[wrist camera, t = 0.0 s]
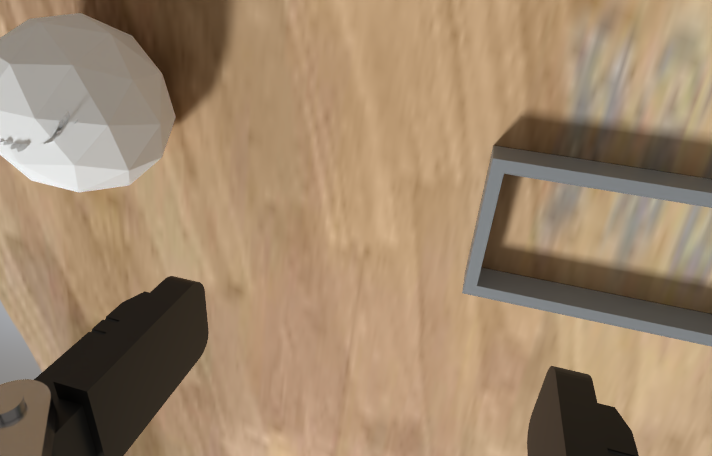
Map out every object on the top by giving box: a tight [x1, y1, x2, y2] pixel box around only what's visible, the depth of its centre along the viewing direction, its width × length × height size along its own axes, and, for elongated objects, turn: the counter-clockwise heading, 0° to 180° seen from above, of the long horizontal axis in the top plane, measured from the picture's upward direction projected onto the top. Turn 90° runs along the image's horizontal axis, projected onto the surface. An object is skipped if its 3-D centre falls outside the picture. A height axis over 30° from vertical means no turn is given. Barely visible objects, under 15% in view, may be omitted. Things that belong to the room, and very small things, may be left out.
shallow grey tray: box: [462, 145, 712, 346], centre depth 37 cm, size 12×23×3 cm, turn 86°
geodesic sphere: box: [0, 13, 176, 192], centre depth 37 cm, size 14×14×14 cm
